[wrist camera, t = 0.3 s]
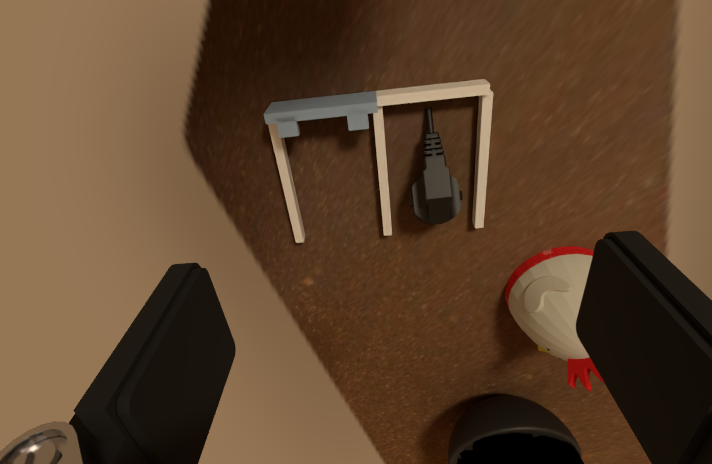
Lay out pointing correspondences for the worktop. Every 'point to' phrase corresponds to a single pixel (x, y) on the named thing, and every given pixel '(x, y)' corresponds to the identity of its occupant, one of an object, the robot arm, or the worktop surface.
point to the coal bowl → (511, 435)
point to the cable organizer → (376, 134)
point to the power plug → (435, 183)
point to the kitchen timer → (553, 305)
